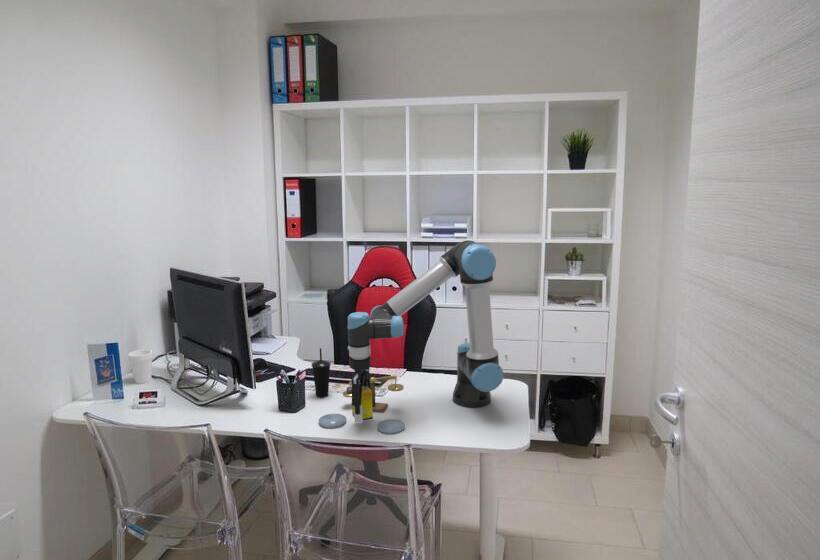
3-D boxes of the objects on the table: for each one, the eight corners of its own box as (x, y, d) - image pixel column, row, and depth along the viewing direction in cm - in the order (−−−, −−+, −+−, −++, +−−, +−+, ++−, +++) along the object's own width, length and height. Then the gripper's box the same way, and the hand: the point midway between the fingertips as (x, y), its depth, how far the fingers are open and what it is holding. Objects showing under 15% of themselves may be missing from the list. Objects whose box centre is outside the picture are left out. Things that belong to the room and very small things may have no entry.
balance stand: (387, 406, 225) (387, 379, 222) (383, 412, 219) (383, 384, 217) (363, 404, 227) (362, 377, 225) (358, 410, 221) (357, 382, 219)
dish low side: (350, 418, 215) (350, 414, 214) (341, 429, 205) (340, 426, 205) (324, 415, 217) (324, 412, 217) (314, 427, 207) (314, 424, 207)
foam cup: (127, 381, 252) (124, 353, 250) (148, 375, 259) (145, 348, 257) (137, 387, 246) (134, 357, 244) (159, 380, 253) (156, 352, 251)
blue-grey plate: (407, 423, 210) (407, 420, 210) (401, 435, 200) (401, 432, 200) (381, 420, 212) (381, 417, 212) (373, 433, 202) (373, 429, 202)
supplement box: (352, 415, 210) (350, 387, 207) (367, 412, 212) (366, 384, 210) (357, 422, 204) (355, 393, 202) (373, 419, 206) (372, 390, 204)
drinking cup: (328, 399, 231) (326, 352, 227) (310, 398, 233) (307, 350, 229) (334, 392, 239) (332, 346, 235) (316, 391, 240) (314, 345, 236)
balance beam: (405, 395, 222) (405, 373, 220) (401, 401, 216) (401, 379, 215) (345, 390, 227) (345, 369, 226) (340, 396, 222) (340, 374, 220)
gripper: (358, 346, 214) (361, 404, 219) (339, 365, 194) (343, 428, 199) (378, 347, 213) (380, 405, 217) (361, 367, 193) (363, 430, 197)
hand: (362, 416), depth 208 cm, fingers closed on supplement box, 8 cm apart
